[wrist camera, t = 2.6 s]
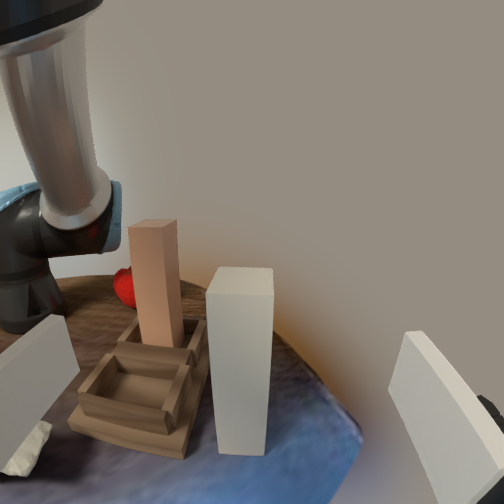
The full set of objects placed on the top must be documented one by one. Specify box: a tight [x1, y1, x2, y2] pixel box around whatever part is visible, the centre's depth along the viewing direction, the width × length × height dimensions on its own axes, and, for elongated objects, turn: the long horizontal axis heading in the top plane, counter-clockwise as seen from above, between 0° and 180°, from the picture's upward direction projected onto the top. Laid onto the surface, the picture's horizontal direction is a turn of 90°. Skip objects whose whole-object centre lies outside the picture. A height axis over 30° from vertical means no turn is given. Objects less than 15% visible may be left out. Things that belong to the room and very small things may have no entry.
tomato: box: [113, 266, 137, 308], centre depth 51 cm, size 10×11×6 cm
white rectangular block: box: [206, 267, 274, 456], centre depth 21 cm, size 4×5×16 cm
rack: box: [67, 315, 210, 460], centre depth 30 cm, size 22×12×4 cm, turn 177°
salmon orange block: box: [128, 219, 185, 348], centre depth 33 cm, size 4×5×16 cm
